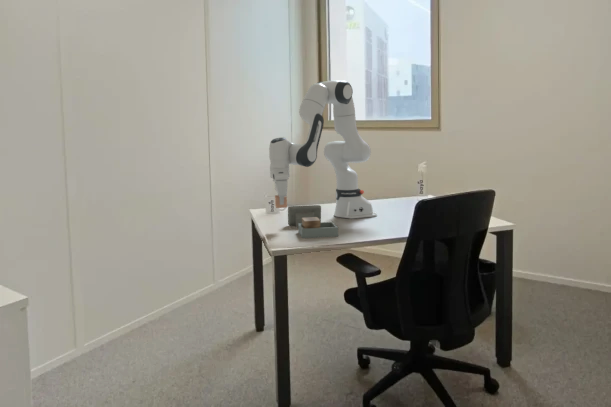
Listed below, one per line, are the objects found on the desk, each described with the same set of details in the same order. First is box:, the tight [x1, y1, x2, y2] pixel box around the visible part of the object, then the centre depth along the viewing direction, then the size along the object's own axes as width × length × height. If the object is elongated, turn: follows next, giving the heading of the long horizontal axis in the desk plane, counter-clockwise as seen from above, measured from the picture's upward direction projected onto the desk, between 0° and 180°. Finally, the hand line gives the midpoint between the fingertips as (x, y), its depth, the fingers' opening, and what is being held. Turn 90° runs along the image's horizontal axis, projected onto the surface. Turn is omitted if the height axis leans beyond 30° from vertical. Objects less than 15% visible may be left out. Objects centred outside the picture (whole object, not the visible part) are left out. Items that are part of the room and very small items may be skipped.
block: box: [302, 217, 320, 229], centre depth 252 cm, size 7×8×7 cm
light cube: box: [274, 194, 288, 209], centre depth 263 cm, size 5×5×5 cm
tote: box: [297, 221, 339, 239], centre depth 253 cm, size 16×12×5 cm
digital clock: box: [287, 204, 322, 227], centre depth 274 cm, size 16×9×11 cm, turn 82°
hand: (281, 203), depth 263 cm, fingers closed on light cube, 5 cm apart
